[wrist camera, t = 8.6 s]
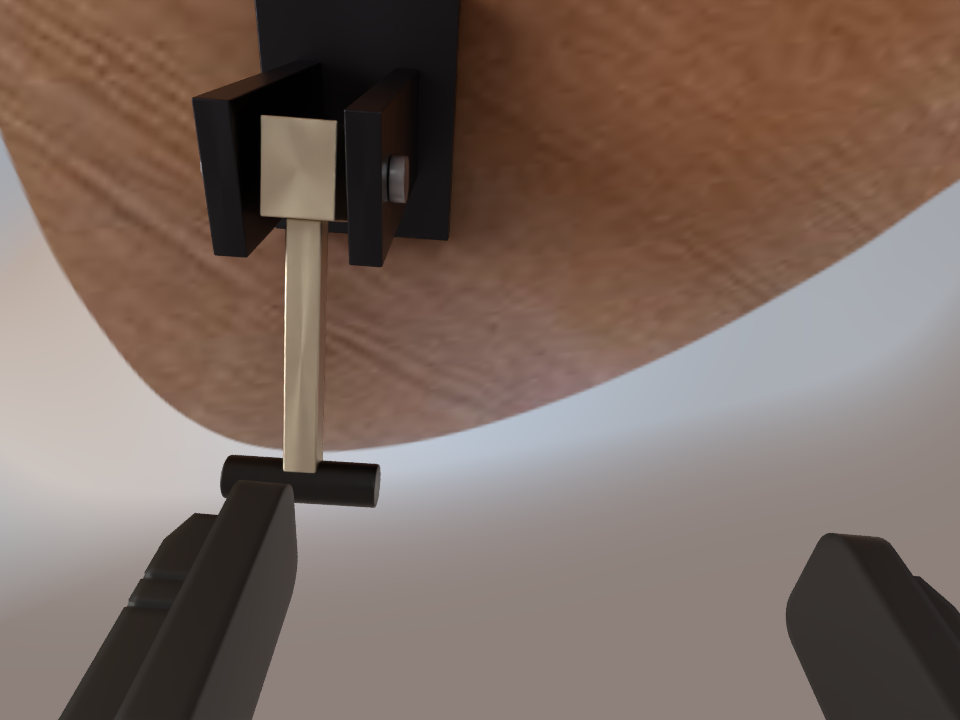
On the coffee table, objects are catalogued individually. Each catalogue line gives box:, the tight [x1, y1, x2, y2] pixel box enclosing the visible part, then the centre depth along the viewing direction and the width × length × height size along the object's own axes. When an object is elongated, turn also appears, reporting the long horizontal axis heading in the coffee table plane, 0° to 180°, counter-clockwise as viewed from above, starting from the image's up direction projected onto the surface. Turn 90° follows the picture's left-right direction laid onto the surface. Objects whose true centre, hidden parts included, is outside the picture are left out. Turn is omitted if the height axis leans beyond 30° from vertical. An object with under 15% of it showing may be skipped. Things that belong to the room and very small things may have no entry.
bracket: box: [192, 0, 461, 267], centre depth 23 cm, size 10×8×12 cm
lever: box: [220, 115, 380, 508], centre depth 20 cm, size 12×5×2 cm, turn 176°
